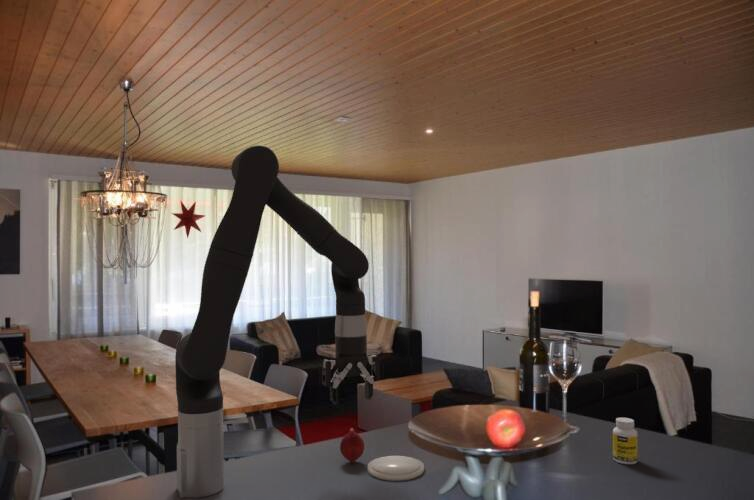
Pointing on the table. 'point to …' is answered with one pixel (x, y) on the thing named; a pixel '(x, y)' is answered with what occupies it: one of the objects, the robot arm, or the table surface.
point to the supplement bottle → (625, 441)
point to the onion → (352, 446)
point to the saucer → (395, 468)
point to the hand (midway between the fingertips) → (351, 401)
